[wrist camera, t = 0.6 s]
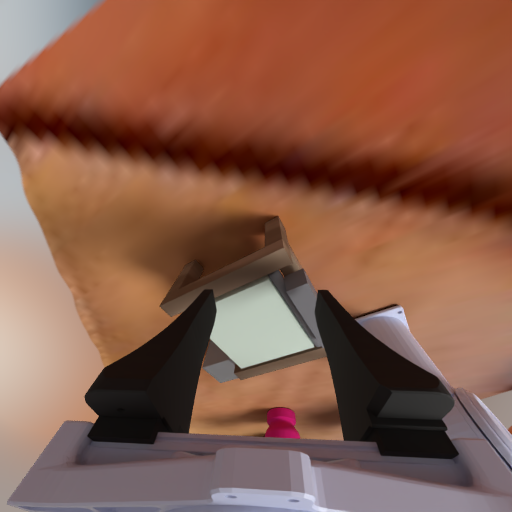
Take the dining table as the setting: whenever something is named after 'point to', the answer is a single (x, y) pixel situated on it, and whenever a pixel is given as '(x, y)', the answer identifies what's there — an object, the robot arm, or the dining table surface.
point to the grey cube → (219, 364)
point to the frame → (237, 275)
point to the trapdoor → (267, 319)
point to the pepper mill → (281, 423)
